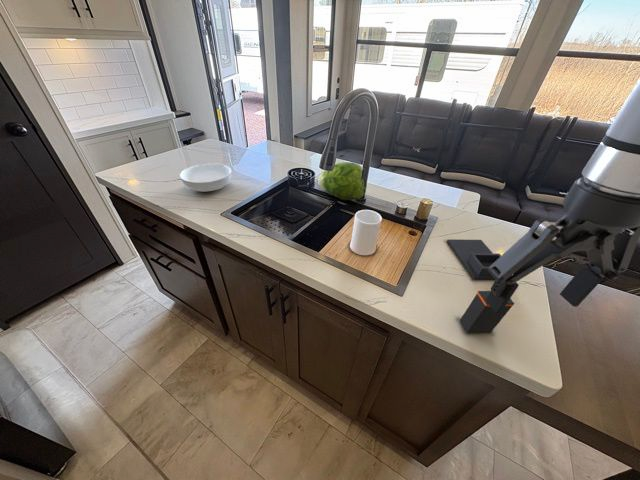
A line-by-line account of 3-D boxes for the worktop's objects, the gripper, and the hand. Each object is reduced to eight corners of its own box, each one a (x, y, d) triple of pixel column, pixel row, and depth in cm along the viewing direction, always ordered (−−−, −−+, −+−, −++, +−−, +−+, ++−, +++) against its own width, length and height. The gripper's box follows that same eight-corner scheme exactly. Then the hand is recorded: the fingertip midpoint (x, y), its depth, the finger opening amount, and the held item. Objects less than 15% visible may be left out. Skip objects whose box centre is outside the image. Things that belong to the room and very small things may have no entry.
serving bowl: (237, 176, 122) (235, 163, 118) (228, 198, 106) (225, 182, 102) (193, 176, 121) (189, 162, 117) (176, 197, 104) (171, 182, 100)
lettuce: (332, 188, 123) (323, 159, 114) (374, 185, 112) (367, 152, 103) (318, 207, 113) (307, 177, 104) (363, 206, 102) (354, 172, 93)
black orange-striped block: (491, 332, 60) (514, 303, 54) (466, 333, 60) (487, 303, 53) (483, 319, 63) (504, 290, 56) (459, 320, 63) (478, 290, 56)
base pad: (512, 280, 75) (519, 270, 72) (473, 279, 74) (478, 270, 72) (479, 241, 89) (484, 232, 86) (446, 241, 88) (450, 232, 86)
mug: (354, 231, 91) (359, 202, 83) (378, 237, 89) (385, 207, 81) (347, 252, 82) (351, 221, 74) (373, 258, 80) (380, 227, 72)
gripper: (674, 169, 34) (578, 281, 46) (498, 177, 32) (448, 292, 44) (758, 194, 28) (621, 315, 40) (547, 206, 26) (473, 329, 38)
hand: (530, 303), depth 42 cm, fingers open, 13 cm apart
